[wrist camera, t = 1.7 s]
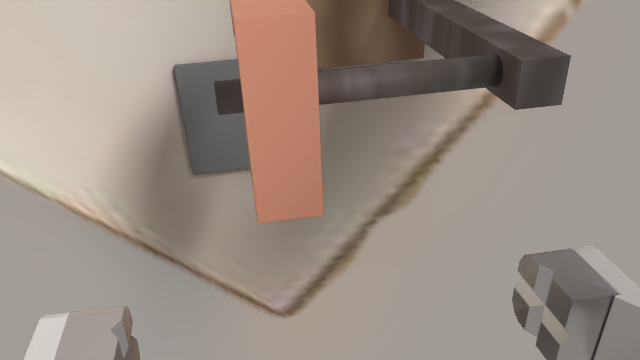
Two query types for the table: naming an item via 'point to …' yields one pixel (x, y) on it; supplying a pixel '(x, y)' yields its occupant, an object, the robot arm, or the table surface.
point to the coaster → (211, 118)
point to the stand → (422, 55)
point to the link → (280, 105)
